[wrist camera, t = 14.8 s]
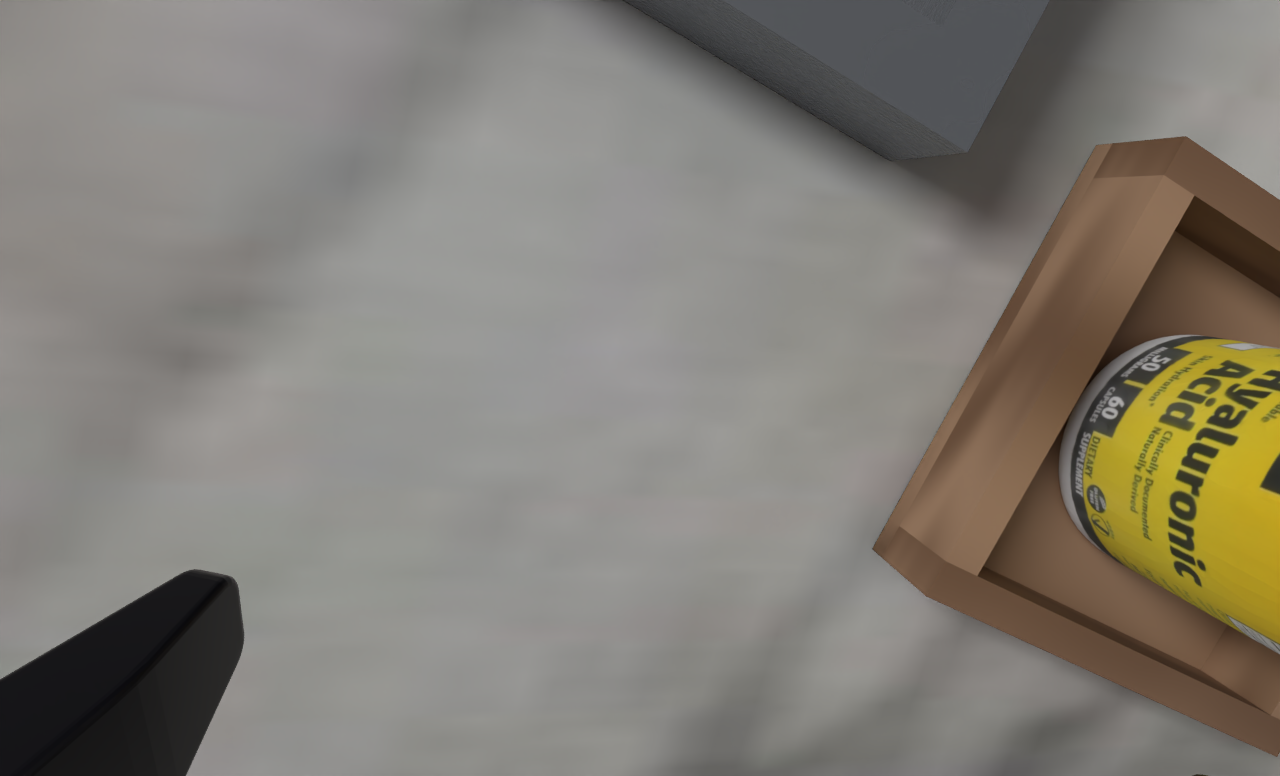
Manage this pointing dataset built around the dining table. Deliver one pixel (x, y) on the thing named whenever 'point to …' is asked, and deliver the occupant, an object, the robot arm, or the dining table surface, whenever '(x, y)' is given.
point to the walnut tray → (1039, 411)
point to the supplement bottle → (1185, 473)
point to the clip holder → (870, 60)
